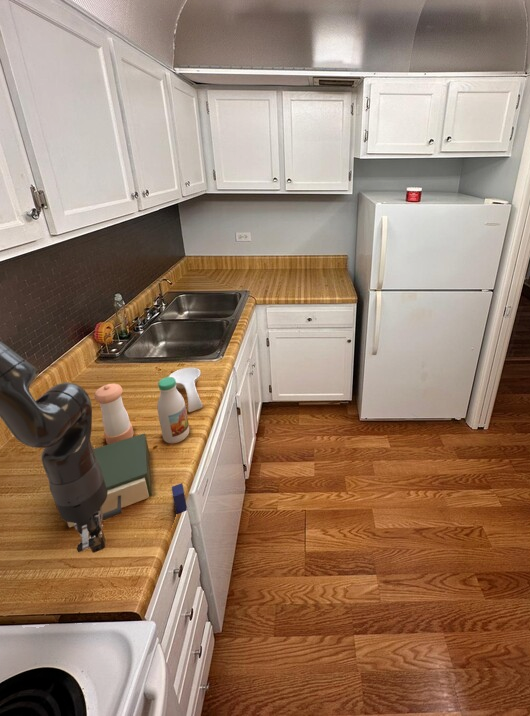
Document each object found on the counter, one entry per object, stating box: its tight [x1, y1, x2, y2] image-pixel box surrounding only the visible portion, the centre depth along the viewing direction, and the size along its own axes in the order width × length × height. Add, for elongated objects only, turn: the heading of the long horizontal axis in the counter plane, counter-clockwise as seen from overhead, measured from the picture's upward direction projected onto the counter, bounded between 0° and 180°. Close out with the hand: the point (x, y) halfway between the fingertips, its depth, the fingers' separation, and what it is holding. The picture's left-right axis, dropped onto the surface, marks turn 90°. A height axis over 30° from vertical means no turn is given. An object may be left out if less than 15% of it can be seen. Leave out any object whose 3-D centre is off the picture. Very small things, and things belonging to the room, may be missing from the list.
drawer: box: [66, 477, 150, 528], centre depth 81 cm, size 18×16×6 cm
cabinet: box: [65, 432, 153, 528], centre depth 85 cm, size 15×18×8 cm
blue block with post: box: [171, 482, 188, 515], centre depth 82 cm, size 2×7×6 cm, turn 27°
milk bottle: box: [156, 376, 190, 444], centre depth 99 cm, size 8×8×20 cm
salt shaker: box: [94, 383, 135, 445], centre depth 98 cm, size 7×7×19 cm
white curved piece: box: [168, 366, 204, 413], centre depth 121 cm, size 24×12×7 cm, turn 32°
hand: (99, 547), depth 67 cm, fingers closed
